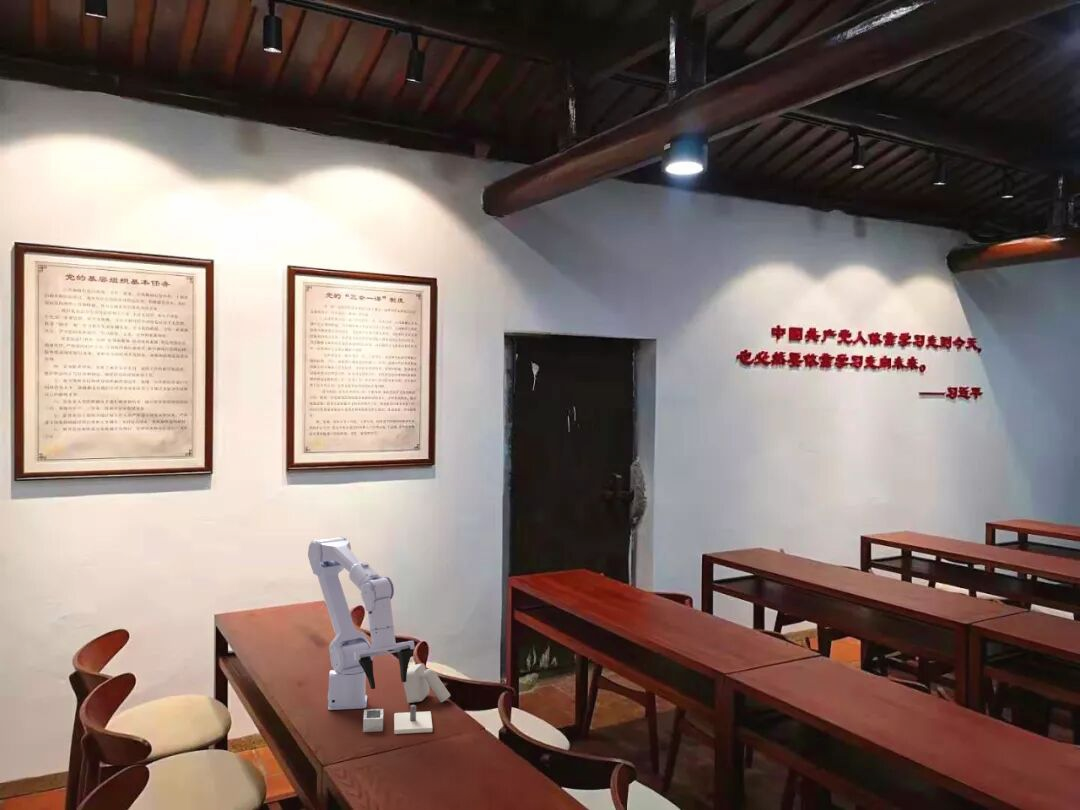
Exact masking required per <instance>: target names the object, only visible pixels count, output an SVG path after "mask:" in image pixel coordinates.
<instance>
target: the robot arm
mask: <svg viewBox="0 0 1080 810" xmlns="http://www.w3.org/2000/svg"><path fill="white" fill-rule="evenodd" d="M351 548H352V547H351V542H350V541H349V539H348V538H347V537H346V536H339V537H333V538H325V539H313V540H311V541H310V543H309V546H308V552H307V557H308V561H309V564H310V567H311V570H312V573H313V575H315V576H316V577H317V579H318V584H319V586H320V589H321V592H322V595H323V599H324V602H325V604H326V605H325V606H326V609H327V612H328V615H329V618H330V621H331V624H332V627H333V628H332V629H333V632H334V633H335V636H334V638H333V639H332V640H331V642H330V643H329V646H328V651H329V660H330V664H331V668H332V669H331V670H329V674H328V675H329V676H328V691H327V700H328V701H327V702H328V703H327V706H328V707H327V709H328V710H329V711H333V710H334V711H336V710H355V709H356V710H357V709H358V710H359V709H366V708H367V706H368V705H367V704H368V695H367V694H366V690H367V689H366V684H367V683H366V682H367V681H368V683H369V686H370V687H369V688H370V689H371V690H375V689H376V683H375V677H374V664H373V663H374V661H373V659H374V657H379V656H384V655H388V654H393V653H396V654H397V658H398V664H399V669H400V671H399V672H400V681H401V682H402V683H403V682H406V676H407V669H408V668H409V663H410V660H411V657H412V653H413V652H412V650H415V641H414V640H408V641H402V642H396V635H395V628H394V620H393V619H394V617H393V611H392V604H391V602H392V601H391V600H392V599H393V597H394V593H395V588H394V583H393V581H392V579H390V576H383V575H381V576H380V574H378V573H377V572H376V571H375V570H374V569H373V568H372V567H371V566H370V565H369V563H368V562H366V561H365V562H363V561H361V562H360V560H359V559H358V557H356V555H355V554H354V553H353V552H352V549H351ZM344 569H345V570H346V571H347V572H349V574H348V577H349V579H350V581H351V582H352V583H353V585H355V587H357V588H358V589H359V591H361V592H360V596H361V599H362V601H363V603H364V608H365V610H366V612H367V614H368V624H369V632H370V640H371V643H370V641H369V640H368V638H367V635H366V633H364V632H362V631H360V630H359V629H356V627H355V624H354V620H353V618H352V617H353V616H352V615H351V612H350V609H349V606H348V603H347V602H348V601H347V599H346V596H345V593H344V590H343V587H342V584H341V581H340V577H339V573H341V572H342V571H344ZM366 679H367V680H366Z"/></svg>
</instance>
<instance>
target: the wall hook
mask: <svg viewBox="0 0 1080 810" xmlns="http://www.w3.org/2000/svg"><path fill="white" fill-rule="evenodd" d="M402 683H403V688H404V693H405V697H406V701H407V703H408V704H413V703H420V702H422V701H424V700H425V698H426V697H427V696H429V694H430V688H431V690H432V691H433V693H434V694H435V696H436V697H437V699H438V701H440V703H441V704H442V703H443V702H445V701H446V700H448V699H449V698H450V697H451V693H450V692H449V691H448V689H447V688H446V686H445V685H444V683H443V681H441V679H440V677H439V676H438V674H437V673H436V671H435V670H434V669H432V668H427V669H426V666H425V663H418V664H412V665H411V664H410V665H409V666H408V669H407V676H406V682H402Z"/></svg>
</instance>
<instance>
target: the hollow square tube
mask: <svg viewBox="0 0 1080 810" xmlns="http://www.w3.org/2000/svg"><path fill="white" fill-rule="evenodd" d="M362 726H363V727H362V730H363V731H362V733H369V732H370V733H371V732H373V733H374V732H383V731H384V708H371V709H370V708H369V709H364V710H363V719H362Z"/></svg>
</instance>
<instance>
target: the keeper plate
mask: <svg viewBox="0 0 1080 810" xmlns="http://www.w3.org/2000/svg"><path fill="white" fill-rule="evenodd" d="M393 716H394V717H393V721H394V723H393V724H394V725H393V728H394V729H393V733H394V735H400V734H417V733H419V734H420V733H432V732H433V721H432V713H431V710H430V711H429V710H428V711H417V705H416V704H411V705H410V710H409V712H395V713H394V714H393Z"/></svg>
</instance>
